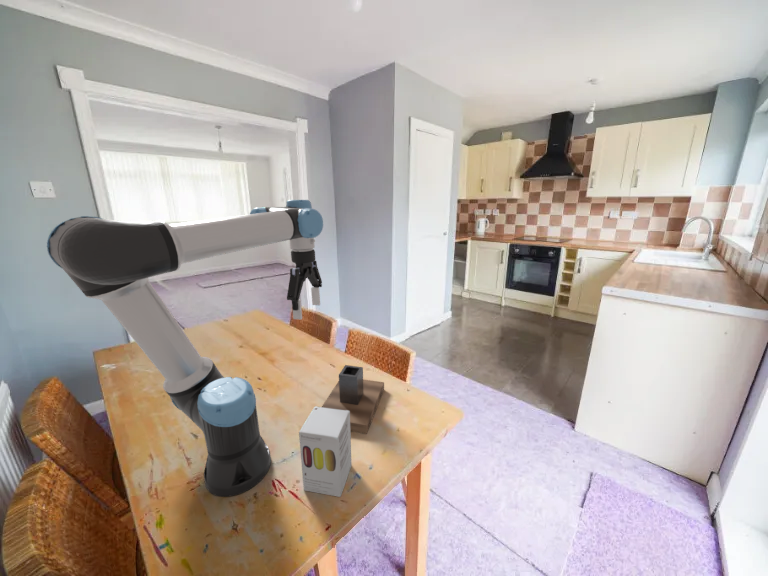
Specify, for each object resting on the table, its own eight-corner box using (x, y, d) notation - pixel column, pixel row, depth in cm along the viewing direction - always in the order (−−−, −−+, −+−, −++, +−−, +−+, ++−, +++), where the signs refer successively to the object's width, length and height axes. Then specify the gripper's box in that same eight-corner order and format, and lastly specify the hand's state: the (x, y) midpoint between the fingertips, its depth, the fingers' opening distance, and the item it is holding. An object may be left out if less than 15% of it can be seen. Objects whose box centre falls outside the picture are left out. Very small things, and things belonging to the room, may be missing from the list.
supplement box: (302, 491, 72) (296, 431, 67) (317, 459, 81) (313, 404, 76) (341, 498, 70) (338, 437, 65) (352, 464, 79) (350, 409, 74)
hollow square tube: (357, 405, 97) (357, 377, 94) (340, 402, 98) (338, 374, 96) (363, 393, 103) (362, 367, 100) (346, 391, 104) (345, 365, 101)
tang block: (366, 433, 89) (366, 404, 86) (315, 424, 93) (313, 396, 90) (384, 389, 110) (384, 364, 107) (341, 383, 113) (340, 359, 110)
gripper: (293, 257, 86) (299, 326, 92) (329, 244, 109) (332, 300, 115) (270, 256, 88) (277, 324, 94) (309, 243, 111) (313, 299, 117)
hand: (307, 311), depth 105 cm, fingers open, 13 cm apart
